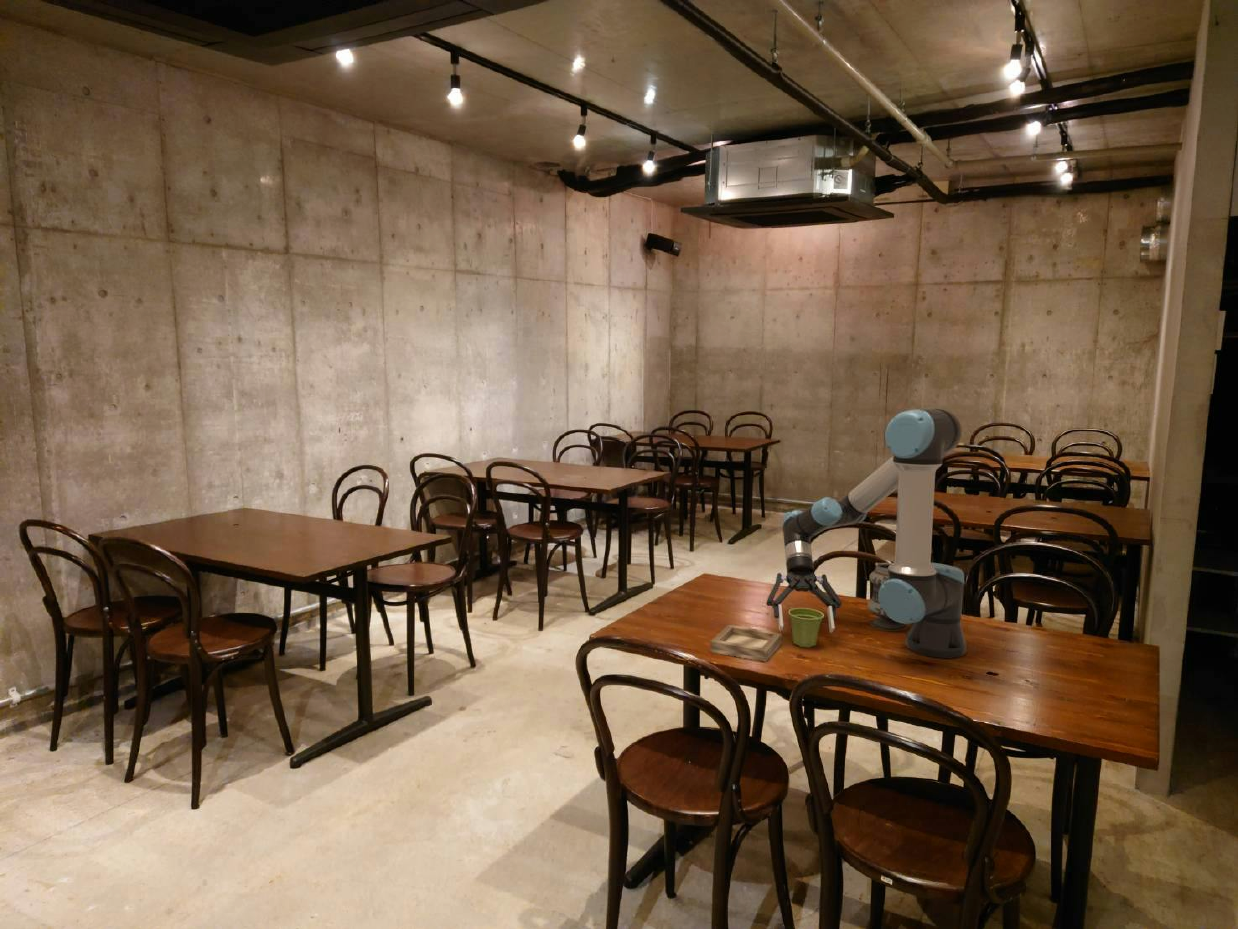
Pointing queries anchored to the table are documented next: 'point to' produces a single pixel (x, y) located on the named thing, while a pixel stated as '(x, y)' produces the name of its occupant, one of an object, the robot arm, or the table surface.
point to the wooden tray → (746, 643)
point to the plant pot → (805, 626)
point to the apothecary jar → (874, 605)
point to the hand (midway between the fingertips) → (806, 629)
